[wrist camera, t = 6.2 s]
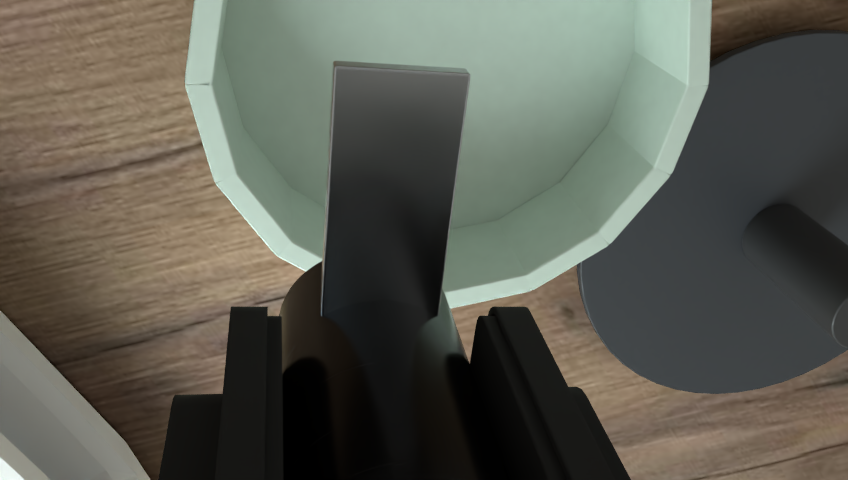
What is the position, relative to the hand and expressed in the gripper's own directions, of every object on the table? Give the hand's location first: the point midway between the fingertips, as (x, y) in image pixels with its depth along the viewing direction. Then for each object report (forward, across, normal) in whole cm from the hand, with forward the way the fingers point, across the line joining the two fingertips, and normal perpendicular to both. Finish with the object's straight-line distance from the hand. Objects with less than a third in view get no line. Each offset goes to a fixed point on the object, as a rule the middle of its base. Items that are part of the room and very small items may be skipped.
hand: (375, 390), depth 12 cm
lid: (+18, -20, +6) cm, 28 cm away
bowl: (+19, -4, -1) cm, 19 cm away
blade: (+2, 0, 0) cm, 2 cm away
